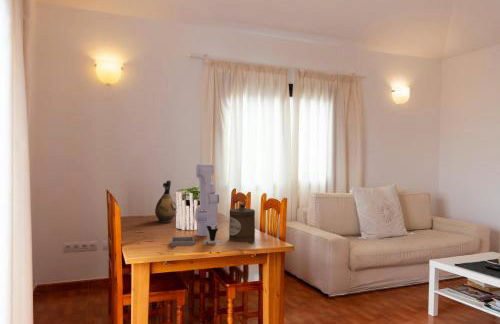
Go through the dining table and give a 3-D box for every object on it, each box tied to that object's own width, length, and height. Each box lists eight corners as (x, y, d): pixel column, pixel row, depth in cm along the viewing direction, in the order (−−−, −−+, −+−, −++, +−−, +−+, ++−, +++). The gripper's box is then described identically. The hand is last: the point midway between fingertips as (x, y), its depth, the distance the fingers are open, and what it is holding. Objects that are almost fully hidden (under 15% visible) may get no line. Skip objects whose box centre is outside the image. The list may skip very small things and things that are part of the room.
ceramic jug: (174, 223, 283) (174, 181, 283) (152, 223, 283) (153, 181, 283) (178, 219, 300) (179, 180, 300) (158, 219, 300) (158, 179, 300)
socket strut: (207, 241, 222) (207, 230, 222) (215, 241, 223) (215, 230, 223) (208, 243, 218) (208, 232, 218) (216, 243, 219) (216, 232, 218)
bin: (171, 242, 223) (171, 237, 223) (193, 242, 225) (193, 236, 225) (171, 247, 211) (171, 242, 211) (194, 247, 213) (194, 241, 213)
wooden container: (225, 239, 233) (226, 202, 233) (248, 237, 240) (249, 201, 239) (234, 245, 220) (235, 205, 219) (259, 243, 226) (259, 204, 226)
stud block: (202, 242, 225) (202, 232, 225) (219, 241, 227) (219, 232, 227) (203, 247, 214) (203, 237, 213) (222, 246, 215) (222, 236, 215)
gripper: (204, 213, 226) (203, 237, 227) (206, 217, 212) (205, 242, 212) (216, 213, 228) (216, 236, 228) (219, 217, 214) (218, 242, 214)
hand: (211, 239), depth 220 cm, fingers closed on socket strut, 4 cm apart
